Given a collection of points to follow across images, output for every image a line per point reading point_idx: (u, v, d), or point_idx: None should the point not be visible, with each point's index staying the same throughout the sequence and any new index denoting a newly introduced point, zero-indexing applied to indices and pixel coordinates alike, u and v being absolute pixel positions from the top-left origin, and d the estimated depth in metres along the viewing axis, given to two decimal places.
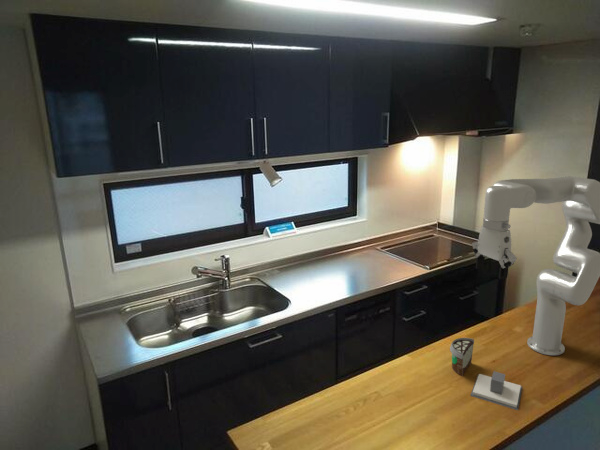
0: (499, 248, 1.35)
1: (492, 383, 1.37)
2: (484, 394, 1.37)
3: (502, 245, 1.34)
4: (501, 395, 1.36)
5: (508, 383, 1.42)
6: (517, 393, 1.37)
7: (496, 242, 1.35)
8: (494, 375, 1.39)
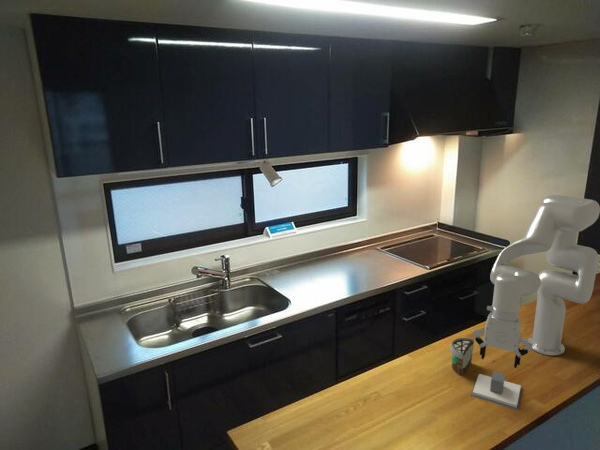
0: None
1: (492, 383, 1.37)
2: (484, 394, 1.37)
3: None
4: (501, 395, 1.36)
5: (508, 383, 1.42)
6: (517, 393, 1.37)
7: None
8: (494, 375, 1.39)
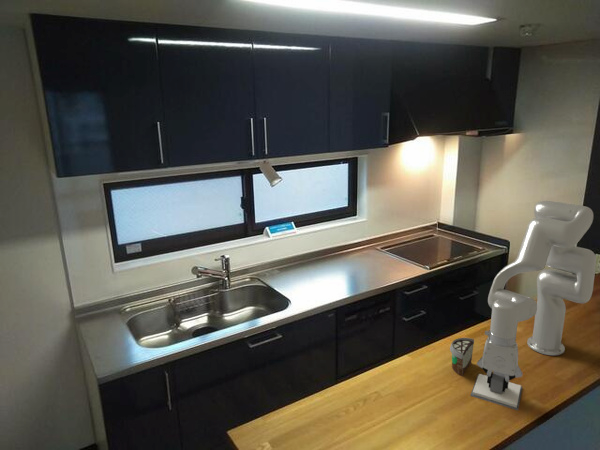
0: None
1: (492, 383, 1.37)
2: (484, 394, 1.37)
3: None
4: (501, 395, 1.36)
5: (508, 383, 1.42)
6: (518, 393, 1.37)
7: None
8: (494, 375, 1.39)
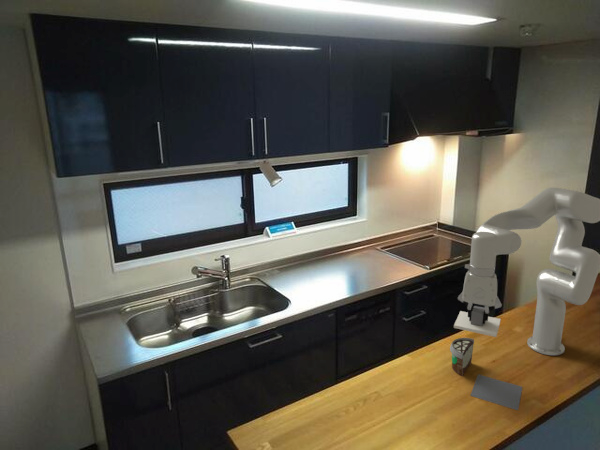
0: None
1: (472, 316, 1.40)
2: (465, 326, 1.40)
3: None
4: (481, 327, 1.39)
5: (488, 317, 1.45)
6: (497, 325, 1.39)
7: None
8: (475, 309, 1.41)
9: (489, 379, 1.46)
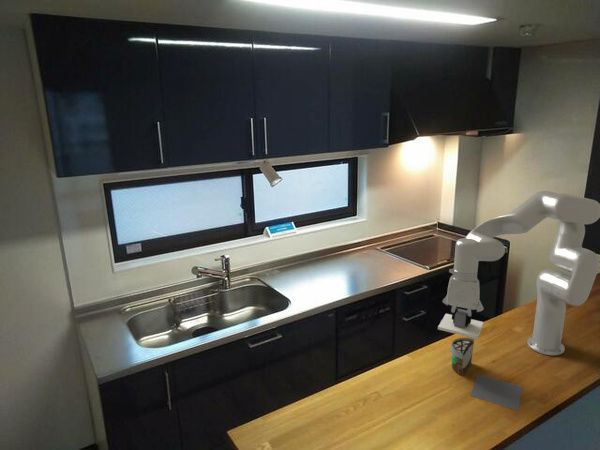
0: None
1: (456, 318, 1.47)
2: (448, 328, 1.46)
3: None
4: (464, 329, 1.45)
5: (472, 320, 1.51)
6: (479, 328, 1.46)
7: None
8: (458, 312, 1.48)
9: (489, 379, 1.46)
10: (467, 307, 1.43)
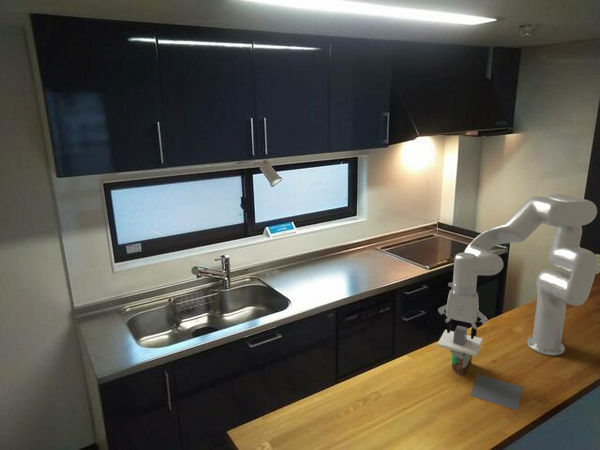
0: None
1: (455, 335, 1.48)
2: (447, 345, 1.48)
3: None
4: (463, 346, 1.47)
5: None
6: (478, 345, 1.48)
7: None
8: (457, 329, 1.50)
9: (489, 379, 1.46)
10: (466, 320, 1.45)
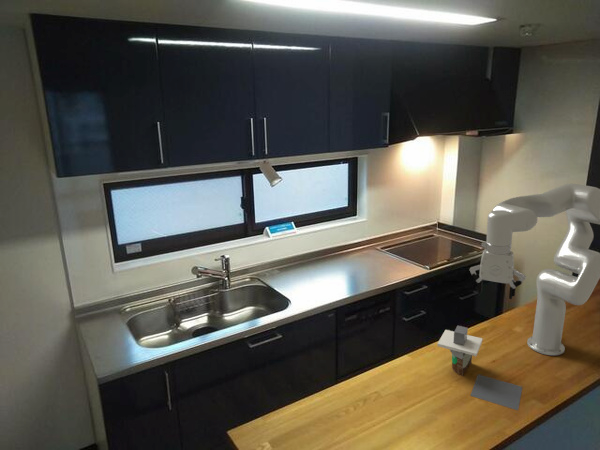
0: None
1: (455, 335, 1.48)
2: (447, 345, 1.48)
3: None
4: (463, 346, 1.47)
5: (471, 337, 1.53)
6: (478, 345, 1.48)
7: None
8: (458, 329, 1.50)
9: (489, 379, 1.46)
10: (501, 281, 1.39)
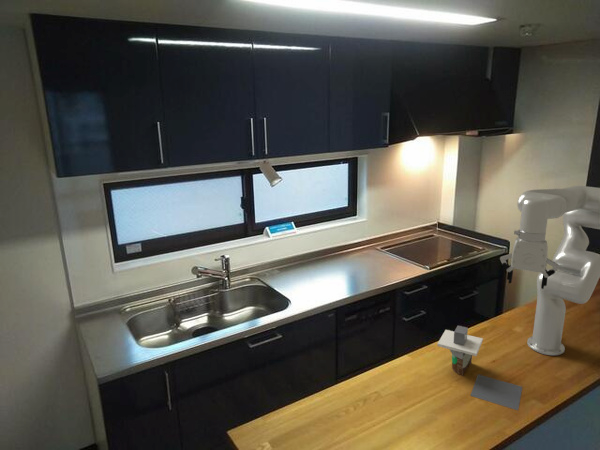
0: None
1: (455, 335, 1.48)
2: (448, 345, 1.48)
3: None
4: (463, 346, 1.47)
5: (471, 337, 1.53)
6: (478, 345, 1.48)
7: None
8: (458, 329, 1.50)
9: (489, 379, 1.46)
10: (534, 270, 1.36)
